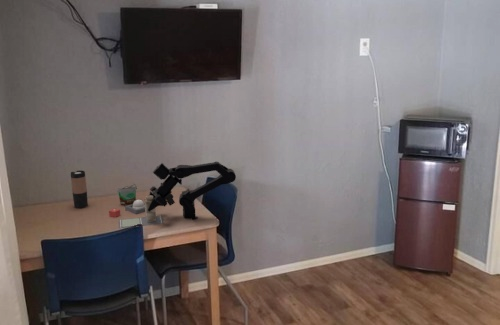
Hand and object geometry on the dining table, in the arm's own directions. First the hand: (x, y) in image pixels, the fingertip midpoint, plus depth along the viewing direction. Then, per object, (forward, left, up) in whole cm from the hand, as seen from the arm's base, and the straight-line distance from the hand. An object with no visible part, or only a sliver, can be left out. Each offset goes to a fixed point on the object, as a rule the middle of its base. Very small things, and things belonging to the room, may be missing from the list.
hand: (147, 208), depth 239 cm
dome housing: (+18, -6, -8) cm, 21 cm away
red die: (+19, +8, -8) cm, 22 cm away
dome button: (+18, -6, -7) cm, 21 cm away
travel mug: (+49, +12, -8) cm, 51 cm away
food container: (+33, -10, -8) cm, 36 cm away
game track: (+2, +3, -8) cm, 8 cm away
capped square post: (-1, -1, -7) cm, 7 cm away
